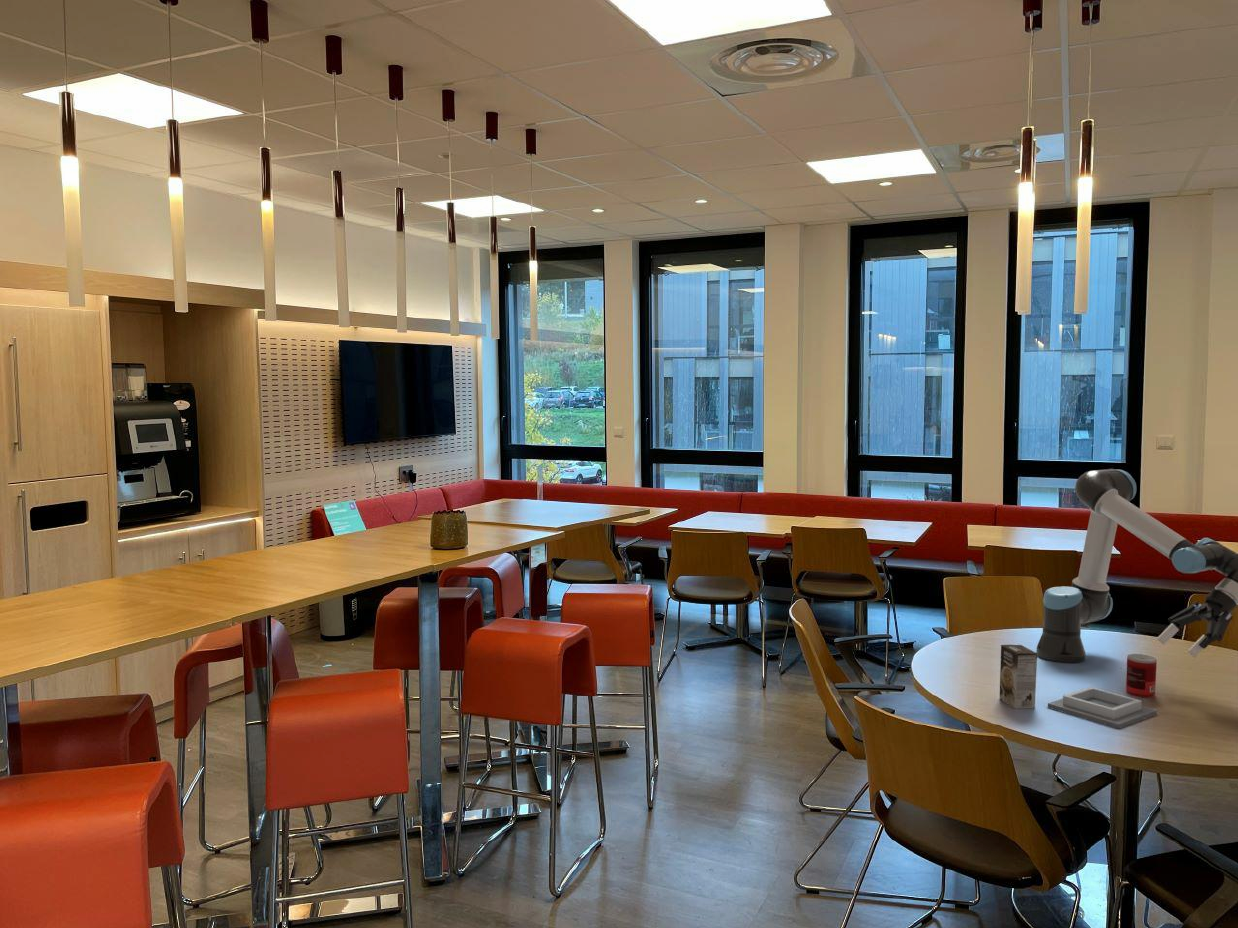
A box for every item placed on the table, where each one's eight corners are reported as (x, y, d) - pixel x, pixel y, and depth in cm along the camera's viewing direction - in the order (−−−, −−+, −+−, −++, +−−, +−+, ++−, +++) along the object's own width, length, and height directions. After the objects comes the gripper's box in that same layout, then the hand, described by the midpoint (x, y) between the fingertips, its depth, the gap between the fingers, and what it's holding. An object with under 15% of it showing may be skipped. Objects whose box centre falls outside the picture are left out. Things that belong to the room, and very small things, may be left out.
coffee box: (998, 698, 265) (1000, 644, 264) (1019, 697, 266) (1021, 643, 265) (1014, 708, 256) (1016, 652, 255) (1036, 708, 257) (1038, 652, 256)
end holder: (1047, 707, 257) (1048, 694, 257) (1086, 694, 268) (1086, 682, 268) (1118, 728, 241) (1119, 715, 240) (1156, 714, 252) (1157, 701, 251)
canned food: (1151, 690, 272) (1153, 655, 272) (1158, 699, 265) (1159, 662, 264) (1123, 688, 275) (1124, 652, 274) (1128, 696, 267) (1130, 659, 267)
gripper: (1266, 615, 257) (1213, 668, 257) (1204, 596, 282) (1156, 644, 282) (1249, 597, 256) (1196, 650, 256) (1188, 580, 281) (1140, 628, 281)
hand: (1175, 647), depth 269 cm, fingers open, 13 cm apart
